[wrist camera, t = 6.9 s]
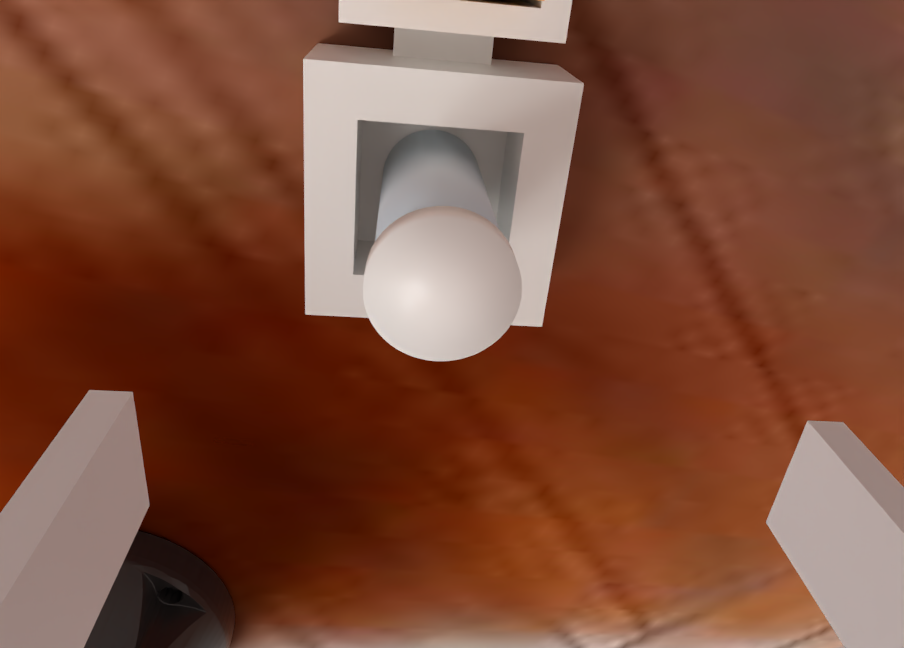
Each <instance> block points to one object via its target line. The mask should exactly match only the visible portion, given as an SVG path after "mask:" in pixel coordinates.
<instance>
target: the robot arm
mask: <svg viewBox="0 0 904 648" xmlns="http://www.w3.org/2000/svg"><path fill="white" fill-rule="evenodd" d="M149 506H150V504H149V497H148V490H147V484H146V477H145V470H144V464H143V457H142V450H141V444H140V437H139V430H138V423H137V417H136V410H135V403H134V397H133V392H125V391H102V390H89V391H88V392H87V394H86V395H85V397H84V398H83V399H82V401H81V402H80V404H79V405H78V406H77V408H76V409H75V410H74V412H73V413H72V415H71V416H70V417H69V419H68V420H67V422H66V423H65V424H64V426H63V427H62V428H61V430H60V431H59V433H58V434H57V435H56V437H55V438H54V440H53V441H52V442H51V444H50V445H49V447H48V448H47V449H46V451H45V452H44V453H43V455H42V456H41V458H40V459H39V460H38V462H37V463H36V465H35V466H34V467H33V469H32V470H31V471H30V473H29V474H28V476H27V477H26V478H25V480H24V481H23V483H22V484H21V485H20V487H19V488H18V489H17V491H16V492H15V494H14V495H13V496H12V498H11V499H10V501H9V502H8V503H7V505H6V506H5V507H4V509H3V510H2V512H1V513H0V648H229V647H230V643H231V639H232V635H233V631H234V626H235V611H234V606H233V602H232V599H231V596H230V594H229V592H228V590H227V588H226V587H225V585H224V584H223V582H222V581H221V579H220V578H219V577H218V576H217V575H216V573H215V572H214V571H213V570H212V569H211V568H210V567H209V566H208V565H206V564H205V563H204V562H203V561H202V560H200V559H199V558H198V557H196V556H195V555H193V554H192V553H190V552H189V551H187V550H185V549H184V548H182V547H180V546H178V545H176V544H174V543H172V542H170V541H167V540H165V539H162V538H160V537H157V536H154V535H151V534H148V533H144V532H141V531H138V529H139V527H140V525H141V523H142V521H143V519H144V516H145V514H146V512H147V510H148V508H149ZM766 523H767V525H768V527H769V528H770V530H771V531H772V533H773V534H774V536H775V538H776V539H777V541H778V542H779V544H780V546H781V547H782V549H783V550H784V552H785V554H786V555H787V557H788V558H789V560H790V561H791V563H792V565H793V566H794V568H795V569H796V571H797V573H798V574H799V576H800V577H801V579H802V581H803V582H804V584H805V585H806V587H807V588H808V590H809V592H810V593H811V595H812V596H813V598H814V600H815V601H816V603H817V604H818V606H819V608H820V609H821V611H822V612H823V614H824V615H825V617H826V619H827V620H828V622H829V623H830V625H831V627H832V628H833V630H834V631H835V633H836V635H837V636H838V638H839V639H840V641H841V642H842V644H843V646H844V647H845V648H904V487H903V486H902V485H901V484H900V483H899V482H898V481H897V480H896V479H895V478H894V477H893V475H892V474H891V473H890V472H889V471H888V470H887V469H886V468H885V467H884V466H883V465H882V464H881V462H880V461H879V460H878V459H877V458H876V457H875V456H874V455H873V454H872V453H871V452H870V451H869V450H868V448H867V447H866V446H865V445H864V444H863V443H862V442H861V441H860V440H859V439H858V438H857V437H856V436H855V434H854V433H853V432H852V431H851V430H850V429H849V428H848V427H847V426H846V425H845V424H844V423H843V422H827V421H807V423H806V426H805V428H804V430H803V433H802V435H801V438H800V440H799V443H798V445H797V447H796V450H795V452H794V455H793V457H792V460H791V462H790V465H789V467H788V469H787V472H786V474H785V477H784V479H783V482H782V484H781V487H780V489H779V491H778V494H777V496H776V499H775V501H774V504H773V506H772V509H771V511H770V513H769V516H768V518H767V521H766Z"/></svg>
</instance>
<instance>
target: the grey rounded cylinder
mask: <svg viewBox="0 0 904 648" xmlns="http://www.w3.org/2000/svg"><path fill="white" fill-rule="evenodd" d="M521 296H522V279H521V274H520V269H519V267H518V264H517V261H516V258H515V255H514V253H513V250H512V247H511V246H510V244H509V242H508V240H507V239H506V237H505V236H504V235H503V233H502V232H501V231H500V230H499V227H498V224H497V221H496V218H495V215H494V212H493V209H492V206H491V203H490V200H489V197H488V193H487V190H486V187H485V184H484V181H483V178H482V175H481V172H480V169H479V166H478V163H477V160H476V158H475V156H474V154H473V152H472V151H471V149H470V148H469V147H468V146H467V145H466V144H465V142H463V141H462V140H461V139H460V138H458V137H456V136H455V135H453V134H450V133H448V132H445V131H441V130H422V131H418V132H415V133H412V134H410V135H408V136H406V137H404V138H403V139H402V140H400V141H399V142H398V143H397V144H396V145H395V146H394V147H393V149H392V150H391V151H390V153H389V155H388V157H387V159H386V161H385V165H384V169H383V177H382V186H381V194H380V203H379V211H378V220H377V228H376V237H375V243H374V244H373V246H372V248H371V250H370V253H369V255H368V258H367V262H366V266H365V273H364V281H363V300H364V306H365V309H366V312H367V315H368V317H369V319H370V321H371V323H372V325H373V327H374V328H375V329H376V331H377V332H378V333H379V334H380V336H381V337H382V338H383V339H384V340H385V341H387V342H388V343H389V344H390V345H391V346H393V347H394V348H396V349H397V350H399V351H401V352H403V353H405V354H407V355H410V356H413V357H415V358H419V359H423V360H429V361H452V360H458V359H463V358H466V357H469V356H472V355H475V354H477V353H479V352H481V351H483V350H485V349H486V348H488V347H489V346H491V345H492V344H494V343H495V342H496V341H497V340H498V339H500V337H501V336H502V335H503V334H504V333H505V332H506V331H507V329H508V328H509V327H510V325H511V324H512V322H513V320H514V318H515V317H516V314H517V312H518V309H519V306H520V302H521Z"/></svg>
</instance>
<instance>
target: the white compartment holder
mask: <svg viewBox="0 0 904 648" xmlns="http://www.w3.org/2000/svg"><path fill="white" fill-rule="evenodd" d="M571 6H572V0H545V1H539V0H339V22H341V23H352V24H362V25H373V26H384V27H394V46H393V50H388V49H377V48H366V47H355V46H344V45H333V44H322V43H318V44H317V45H316V46H315V47H314V48H313V49H312V50H311V51H310V52H309V53H308V54H307V55H306V56H305V57H304V58H303V101H304V231H305V315H323V316H343V317H362V318H369V317H368V315H367V312H366V309H365V306H364V300H363V281H364V273H365V266H366V262H367V258H368V255H369V253H370V250H371V248H372V246H373V244H374V243H375V237H376V228H377V220H378V211H379V203H380V194H381V186H382V177H383V169H384V165H385V161H386V159H387V157H388V155H389V153H390V151H391V150H392V149H393V147H394V146H395V145H396V144H397V143H398V142H399V141H400V140H402V139H403V138H404V137H406V136H408V135H410V134H412V133H415V132H418V131H422V130H441V131H445V132H448V133H450V134H453V135H455V136H456V137H458V138H460V139H461V140H462V141H463V142H465V144H466V145H467V146H468V147H469V148H470V149H471V151H472V152H473V154H474V156H475V158H476V160H477V163H478V166H479V169H480V172H481V175H482V178H483V181H484V184H485V187H486V190H487V193H488V197H489V200H490V203H491V206H492V209H493V212H494V215H495V218H496V221H497V224H498V227H499V230H500V231H501V232H502V233H503V235H504V236H505V237H506V239H507V240H508V242H509V244H510V246H511V247H512V250H513V253H514V255H515V258H516V261H517V264H518V267H519V269H520V274H521V279H522V296H521V302H520V306H519V309H518V312H517V314H516V317H515V318H514V320H513V322H512V324H511V325H517V326H536V327H542V324H543V318H544V312H545V306H546V301H547V295H548V289H549V283H550V278H551V272H552V266H553V260H554V254H555V249H556V243H557V237H558V231H559V226H560V220H561V214H562V208H563V203H564V197H565V191H566V185H567V180H568V174H569V168H570V162H571V156H572V151H573V145H574V139H575V133H576V128H577V122H578V116H579V110H580V105H581V99H582V93H583V87H584V83H583V82H581V81H580V80H578V79H577V78H576V77H574V76H573V75H571V74H570V73H569V72H567V71H566V70H564V69H563V68H561V67H560V66H559V65H554V64H543V63H532V62H521V61H510V60H499V59H492V51H493V42H494V37H501V38H512V39H522V40H533V41H544V42H554V43H565V44H566V38H567V31H568V25H569V19H570V12H571Z"/></svg>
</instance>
